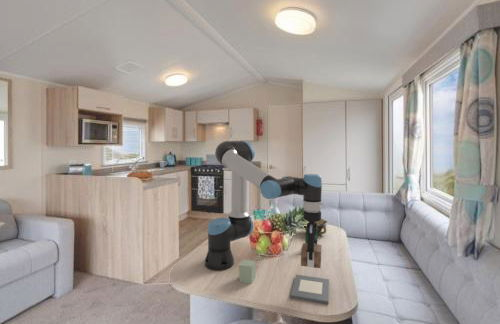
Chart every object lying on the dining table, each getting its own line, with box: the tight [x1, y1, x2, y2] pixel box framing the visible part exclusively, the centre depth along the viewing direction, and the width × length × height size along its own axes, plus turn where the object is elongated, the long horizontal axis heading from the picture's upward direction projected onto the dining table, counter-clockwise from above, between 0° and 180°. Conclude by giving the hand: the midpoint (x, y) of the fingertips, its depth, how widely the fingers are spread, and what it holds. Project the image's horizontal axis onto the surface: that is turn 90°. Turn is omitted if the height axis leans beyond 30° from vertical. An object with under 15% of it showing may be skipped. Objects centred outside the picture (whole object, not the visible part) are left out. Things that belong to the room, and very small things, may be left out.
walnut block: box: [300, 242, 322, 269], centre depth 115 cm, size 8×8×7 cm
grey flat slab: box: [290, 274, 330, 305], centre depth 116 cm, size 15×18×1 cm
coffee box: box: [304, 227, 318, 244], centre depth 161 cm, size 8×3×13 cm, turn 123°
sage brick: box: [238, 258, 256, 285], centre depth 124 cm, size 6×6×8 cm
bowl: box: [303, 218, 328, 235], centre depth 187 cm, size 18×18×10 cm
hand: (311, 262), depth 115 cm, fingers closed on walnut block, 8 cm apart
